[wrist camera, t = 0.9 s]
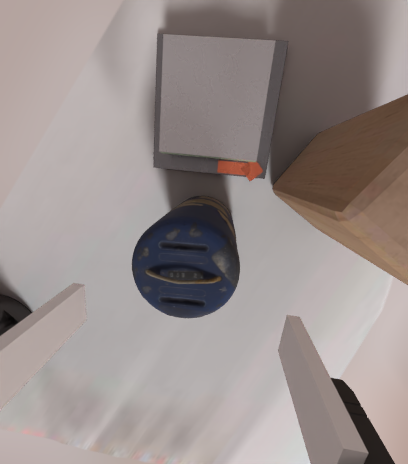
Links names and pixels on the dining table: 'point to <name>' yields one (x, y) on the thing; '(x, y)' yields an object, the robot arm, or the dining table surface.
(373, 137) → the block
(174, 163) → the stand
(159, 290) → the canister
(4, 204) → the dining table surface
